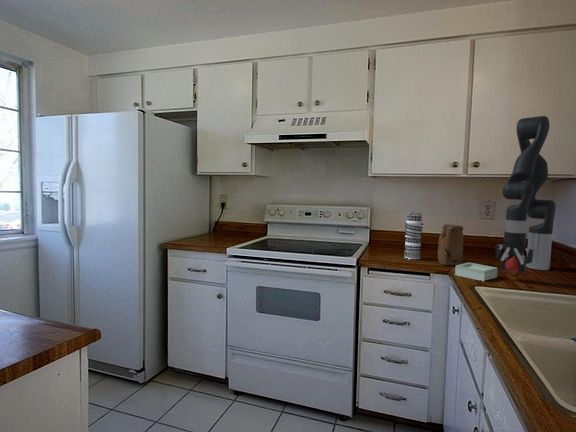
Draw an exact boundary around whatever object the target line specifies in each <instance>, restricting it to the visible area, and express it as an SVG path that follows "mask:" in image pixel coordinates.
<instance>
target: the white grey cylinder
mask: <svg viewBox="0 0 576 432" xmlns="http://www.w3.org/2000/svg"><path fill="white" fill-rule="evenodd" d="M422 219H423V215H422V213H421V212H419V211H409V212H408V213H407V214H406V219H405V220H406V222H404V227H405V229H404V237H405V242H404V243H405V245H404V251H403V252H404V254H403V257H405V258H408V259H407V260H410V259H420V260H421V256H422V255H421V254H422V252H421V251H422V245H421V238H422V236H423V233H422V232H423V229H424V228H423V225H424V223H423V222H422V221H423V220H422ZM405 258H404V259H405Z"/></svg>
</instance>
